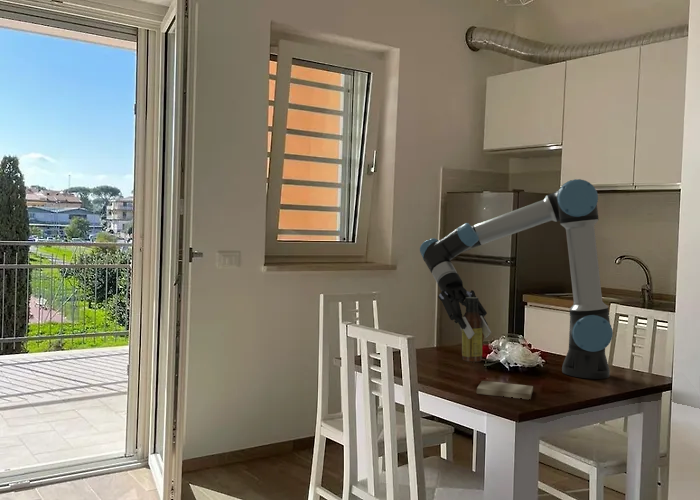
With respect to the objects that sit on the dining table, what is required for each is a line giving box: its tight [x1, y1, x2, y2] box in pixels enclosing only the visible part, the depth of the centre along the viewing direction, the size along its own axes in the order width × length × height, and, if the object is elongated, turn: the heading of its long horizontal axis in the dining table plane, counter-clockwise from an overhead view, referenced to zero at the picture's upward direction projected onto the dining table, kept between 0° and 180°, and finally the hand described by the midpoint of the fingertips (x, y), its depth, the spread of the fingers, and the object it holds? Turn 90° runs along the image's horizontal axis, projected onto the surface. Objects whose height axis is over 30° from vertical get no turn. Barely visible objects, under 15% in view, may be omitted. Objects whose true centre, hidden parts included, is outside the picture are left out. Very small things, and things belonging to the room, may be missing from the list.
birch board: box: [476, 380, 534, 400], centre depth 195 cm, size 15×11×2 cm
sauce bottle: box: [461, 296, 483, 363], centre depth 208 cm, size 7×6×20 cm
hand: (480, 335), depth 205 cm, fingers closed on sauce bottle, 6 cm apart
